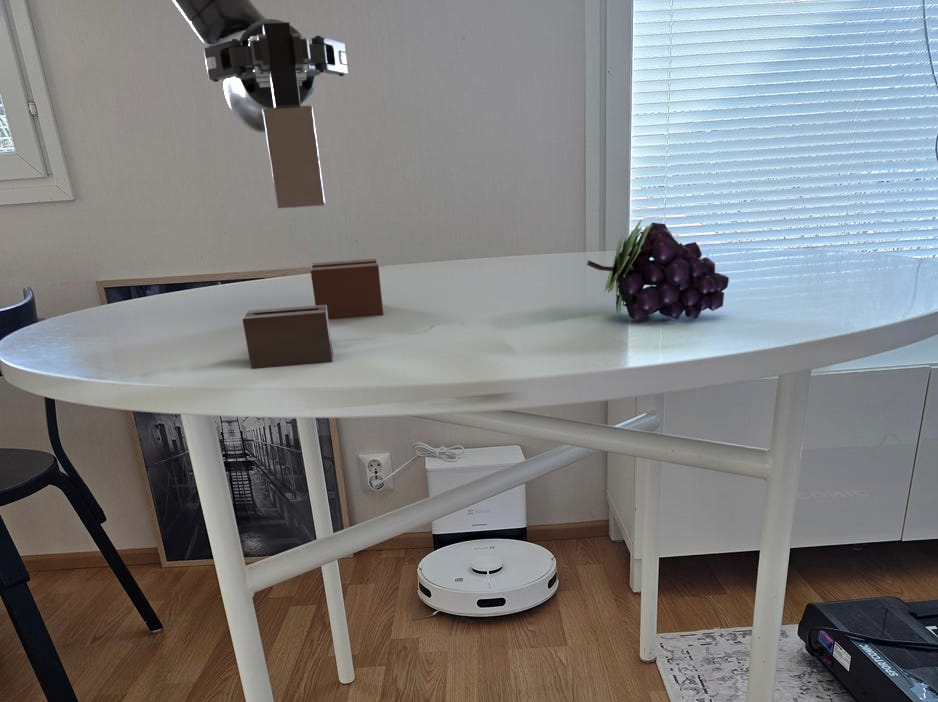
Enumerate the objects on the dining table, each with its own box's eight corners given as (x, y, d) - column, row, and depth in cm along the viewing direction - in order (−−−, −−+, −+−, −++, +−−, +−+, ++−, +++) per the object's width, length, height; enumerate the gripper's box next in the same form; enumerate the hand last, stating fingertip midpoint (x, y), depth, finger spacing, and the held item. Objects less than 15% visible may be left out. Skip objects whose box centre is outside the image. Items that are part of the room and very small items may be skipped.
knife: (324, 205, 79) (300, 21, 72) (276, 209, 79) (247, 23, 72) (325, 204, 82) (302, 26, 75) (279, 207, 81) (251, 29, 75)
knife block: (333, 370, 77) (325, 312, 75) (252, 377, 76) (242, 318, 74) (333, 359, 82) (326, 304, 79) (257, 366, 81) (247, 310, 78)
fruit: (711, 353, 89) (572, 320, 90) (707, 319, 97) (580, 289, 98) (747, 252, 83) (597, 217, 83) (740, 224, 91) (603, 192, 91)
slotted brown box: (389, 331, 94) (382, 265, 91) (316, 337, 93) (306, 270, 90) (385, 320, 101) (379, 258, 98) (318, 326, 101) (309, 263, 97)
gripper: (195, 27, 83) (186, -5, 69) (337, 23, 86) (357, -9, 71) (212, 117, 87) (206, 105, 72) (347, 110, 90) (368, 97, 75)
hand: (281, 49), depth 72 cm, fingers closed on knife, 2 cm apart
